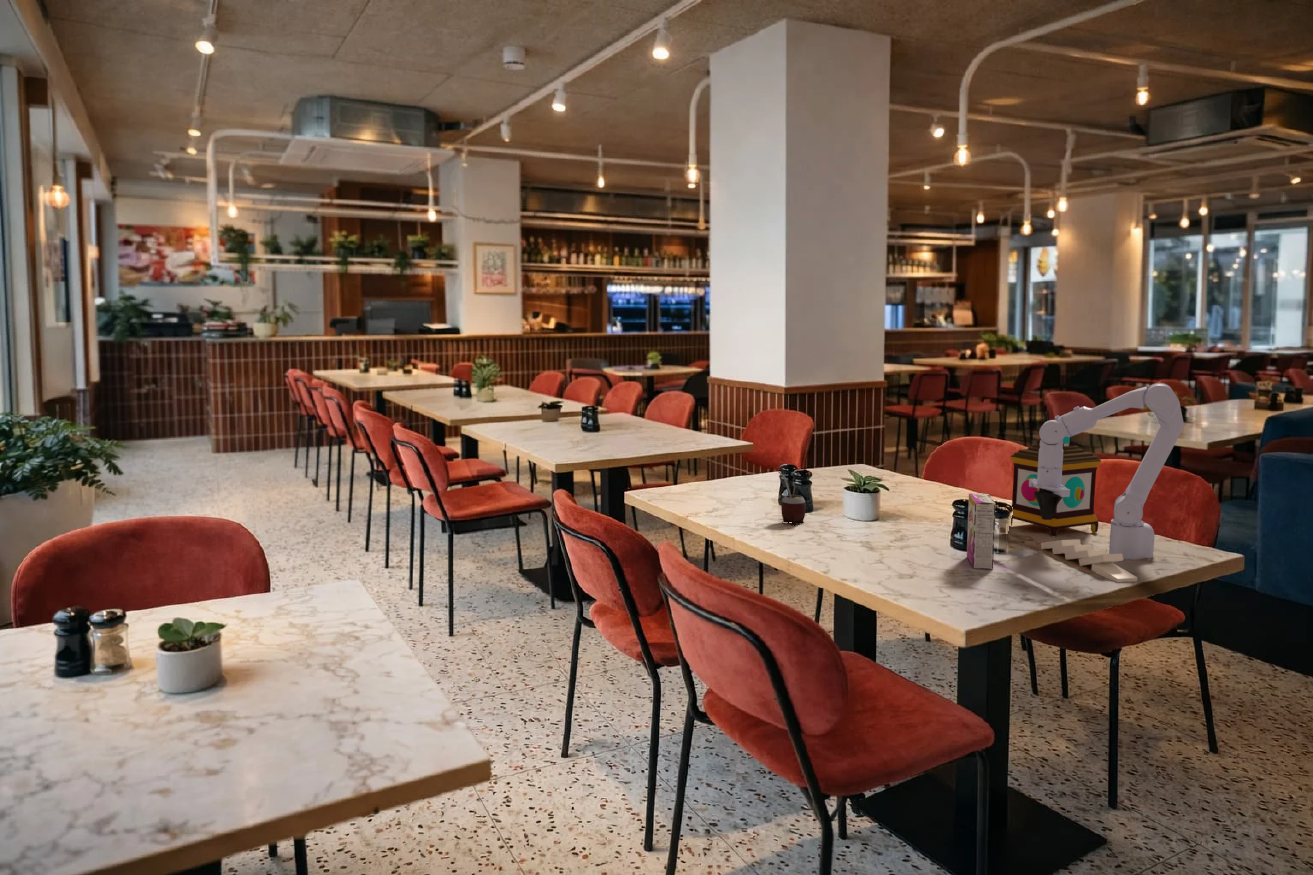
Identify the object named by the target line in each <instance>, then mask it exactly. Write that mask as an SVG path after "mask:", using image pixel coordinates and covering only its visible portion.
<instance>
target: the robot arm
mask: <svg viewBox="0 0 1313 875" xmlns="http://www.w3.org/2000/svg"><path fill="white" fill-rule="evenodd" d="M1180 403H1181V402H1180V400H1179V398H1178V396H1177V394H1176V393H1175V391H1174V389H1172V387H1171V386H1170V385H1168V384H1166V383H1163V382H1155V383H1153V384H1151V385H1149V386H1148V387H1147V386H1143V387H1139V388H1136V389H1134V390H1130V391H1128V392H1125V393H1124V394H1121V395H1119V396H1116V397H1115V398H1113V399H1110V400H1108V401H1105V402H1104V403H1101V404H1099V405H1097V406H1095V407H1092V408H1091V407H1087V406H1081V407H1080V406H1075V407H1073V410H1072V411H1069V412H1067V413H1065V414H1063V415H1061V416H1060V415H1058V414H1057V415H1056V416H1054V419H1051V420H1047V421H1045V422H1044V423H1043V424H1042V425H1041V426H1040V428H1039V434H1038V435H1039V438H1040V440H1039V441H1040V449H1039V457H1038V474H1037V479H1029V487H1035V488H1038V489H1039V491H1035V492H1034V495H1035V497H1036V499H1037V501H1038V504H1039V507H1040V512H1041V517H1042V519H1044V520H1052V518H1053V515H1054V512H1055V509H1056V507H1057V505H1058V503H1059V501H1060V500H1061V499H1062V497H1070V489H1067V488H1066V487H1064V486H1063V485H1061V481H1062V465H1063V449H1062V447H1063V438H1064V437H1070V438H1071V437H1073V436H1076V435H1078V434H1081V433H1084V432H1086V431H1088V430H1090V429H1093V428H1095V427H1096V424H1097V422H1098V421H1099V420H1101V419H1103V418H1106V417H1109V416H1111V415H1114V414H1116V413H1120V412H1122V411H1124V410H1128V409H1130V408H1132V409H1141V410H1142V409H1145V405H1146V406H1147V408H1148V409H1149V410H1151V412H1152V413H1153V414H1154V415H1155V417H1156V420H1157V421H1158V423H1159V427H1158V429H1157V430H1156V433H1155V435H1154V437H1153V439H1152V441H1151V443H1150V444H1149V447H1148V449H1147V450H1146V452H1145V454H1144V456H1143V459H1142V460H1141V462H1140V464H1139V465H1138V467H1137V470H1136V471H1135V473H1134V476H1133V477H1132V479H1131V481H1130V482H1129V484H1128V486H1127V487H1126V489H1125V490H1124V492H1123V493H1122V494H1121V495H1119V496H1117V498H1116V499H1115V500H1114V502H1113V506H1114V507H1113V516H1114V518H1112V519H1110V531H1109V532H1110V533H1109V547H1108V554H1122V556H1123V560H1141V559H1153V558H1154V551H1155V550H1154V548H1155V530H1154V529H1153V527H1152V526H1151V524H1149V523H1146V522H1145V521H1143V520H1142V519H1143V516H1144V511H1143V509H1144V505H1145V503H1146V501H1147V499H1148V496H1149V493H1150V492H1151V490H1152V488H1153V486H1154V483H1155V482H1156V480H1157V478H1158V477H1159V475H1160V473H1161V471H1162V470H1163V467H1164V465H1165V463H1166V462H1167V459H1168V458H1169V456H1170V454H1171V452H1172V450H1173V448H1174V446H1175V445H1176V443H1177V441H1178V439H1179V437H1180V435H1181V433H1182V431H1183V429H1184V427H1185V424H1184V423H1185V422H1184V418H1183V415H1182V414H1183V413H1182V408H1181V404H1180Z"/></svg>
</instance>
